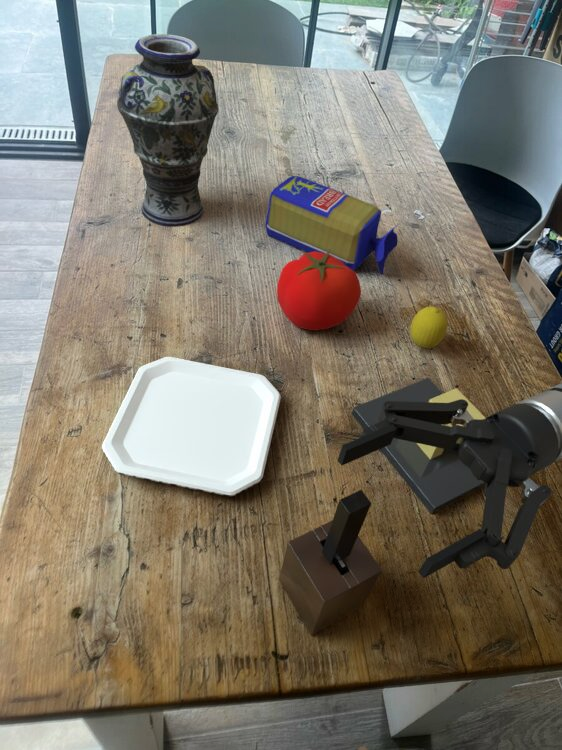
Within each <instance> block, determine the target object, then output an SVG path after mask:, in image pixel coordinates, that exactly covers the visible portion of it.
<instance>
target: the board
mask: <svg viewBox="0 0 562 750" xmlns="http://www.w3.org/2000/svg"><path fill="white" fill-rule="evenodd" d="M442 394H444V392H442V390H440V388H438V386H437V385H436V384H435V383H434V382H433V381H432V380H431V379H430V378H429V377H427V378H424V379H422V380H419V381H417V382H415V383H412V384H409V385H407V386H404V387H402V388H399V389H397V390H394V391H392V392H391V391H390V392H389V393H387V394H384V395H382V396H379V397H377V398H374V399H372V400H368V401H366V402H364V403H362V404H359V405H356V406H354V407H353V408H352V411H351V415H352V417H353V418H354V419H355V420H356V422H357V423H358V424H359V425H360V427H361V428H362V429H363V430H364V429H365V428H367V427H370V426H371V425H374V424H376V423H379V422H380V420H379V416H380V413H381V410H382V407H383V405H384V403H385V402H386V401H398V402H429V400H430V399H432V398H434V397H437V396H439V395H442ZM379 451H380V452H381V453H382V454H383V455H384V457H385V458H386V460H387V461H388V462H389V463H390V464H391V466H392V467H393V468H394V469H395V471H396V472H397V473H398V474H399V476H401V478H402V479H403V480H404V482H405V483H406V484H407V485H408V487H409V488H410V489H411V491H412V492H413V493H414V494H415V496H416V497H417V498H418V499H419V500H420V502H421V503H422V505H423V506H424V507H425V509H426V510H428V512H429V513H430V514H431V515H432V514H434V513H437V512H438V511H440V510H443V509H444V508H447V507H448V506H450V505H452V504H454V503H456V502H457V501H459V500H461V499H463V498H465V497H467V496H468V495H470V494H472V493H474V492H476V491H478V490H480V489H482V488H484V487H486V482H484V481H482V480H477V479H476V478H475V476H474V475H473V474H472V472H471V470H470V468H468V467H467V466H466V465H464V464H463V463H462V462H461V461H460V459H459V457H460V456H459V455H457V454H452V453H448V452H446V451H445V450H443V452H442V454H441V455H439V456H437V457H435V458H432V459H429V457H428V456H427V455H426V454H425V453H424V452H423V450H422V449H421V448H420V447H419V446H418V445H417V443H415V442H410V441H405V440H401V439H396V438H393V440H392V442H391V444H390V445H388V446H386V447H383V448H381V449H379Z"/></svg>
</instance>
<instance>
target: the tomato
mask: <svg viewBox="0 0 562 750" xmlns="http://www.w3.org/2000/svg"><path fill="white" fill-rule="evenodd" d="M330 250H331V249H330ZM330 250H329V251H328V252H327V254H325V253H321V252H316V251H314V252H310V253H306V252H305V251H304V250H302V249H301V250H300V251H302V252H303V253H302V255H301V256H300V257H299V258H298V259H293V260H291V261H289V262H287V263H286V264H285V265H284V266H283V267H282V269H281V272H280V276H279V279H278V281H277V286H276V296H277V302H278V305H279V306H280V308H281V311H282V312H283V314H284V316H285V317H286V318H287V319H288V320H289V321H290V322H291V324H292V325H294V326H295V327H297V328H300V329H304V330H309V331H319V330H328V329H330V328H333V327H335V326H337V325H340V324H342V323H343V322H345V321H346V320H347V319H348V318H349V317H350V316H351V315H352V314H353V312H354V311H355V309H356V307H357V306H358V304H359V302H360V299H361V293H362V287H361V284H360V279H359V277H358V275H357V272H356V271H355V270H351V269H350V268H349V267H347V266H346V265H345V264H344V263H343V262H342V261H340V260H338V259H337V258H335V257H333V256H331V255H330V254H329V252H330Z"/></svg>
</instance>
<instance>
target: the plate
mask: <svg viewBox="0 0 562 750" xmlns="http://www.w3.org/2000/svg"><path fill="white" fill-rule="evenodd" d="M281 400H282V396H281V393H280V391H279V390H278V389H277V388H276V387H275V386H274V385H273V384H272V383H271V382H270V380H269V379H268V378H267V377H266V376H264V375H263V374H259V373H254V372H250V371H244V370H240V369H239V370H238V369H234V368H228V367H223V366H218V365H215V364H208V363H203V362H199V361H193V360H189V359H183V358H178V357H173V356H164V357H161V358H159V359H157V360H154V361H151V362H149V363H145V364H144V365H142V366H140V367H138V370H137V371H136V373H135V376H134V378H133V380H132V382H131V384H130V386H129V388H128V390H127V393H126V394H125V395H124V398H123V401H122V402H121V404H120V406H119V409H118V411H117V413H116V415H115V417H114V419H113V421H112V422H111V423H112V424H111V425H110V427H109V429H108V432H107V434H106V436H105V438H104V440H103V441H102V445H101V447H102V452H103V453H104V455H105V456H106V458H107V460H108V461H109V463H110V465H111V467H112V469H113V470H114V472H116V473H117V474H119V475H123V476H126V477H127V476H128V477H132V478H138V479H141V480H142V479H143V480H147V481H151V482H155V483H161V484H167V485H171V486H175V487H181V488H184V489H185V488H187V489H190V490H195V491H200V492H201V491H202V492H206V493H209V494H213V495H214V494H215V495H219V496H224V497H235V496H236V495H239V494H240V493H242V492H244V491H246V490H247V489H249V488H252V487H253V486H255V485H257V484H259V483H260V482H262V480H263V478H264V473H265V469H266V465H267V460H268V455H269V452H270V446H271V443H272V438H273V434H274V429H275V425H276V421H277V417H278V412H279V407H280V403H281Z"/></svg>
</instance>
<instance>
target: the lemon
mask: <svg viewBox="0 0 562 750" xmlns="http://www.w3.org/2000/svg"><path fill="white" fill-rule="evenodd" d="M447 330H448V318H447V315H446V313H445V312H444V311H443V310H442V309H440V307H437V306H426V307H423V308H421V309H420V310H419V311H418V312H416V315H414V317H413V318H412V321H411V323H410V329H409V333H410V337H411V339H412V341H413V342H414V344H416V345H417V346H418V347H420V348H423V349H424V348H425V349H431V348H434V347H436V346H438V345H439V344H440V343H441V342H442V341H443V340H444V338H445V336H446V334H447Z"/></svg>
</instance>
